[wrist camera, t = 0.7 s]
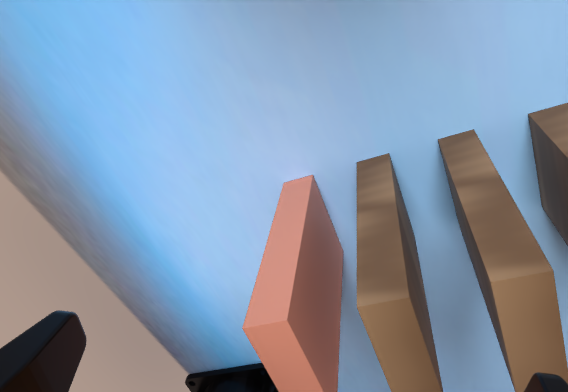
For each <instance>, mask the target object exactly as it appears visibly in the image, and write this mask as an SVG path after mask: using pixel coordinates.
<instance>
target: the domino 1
mask: <svg viewBox="0 0 568 392" xmlns="http://www.w3.org/2000/svg"><path fill="white" fill-rule="evenodd" d="M342 271H343V249H342V247H341V244H340V242H339V239H338V237H337V234H336V232H335V229H334V226H333V224H332V221H331V219H330V216H329V214H328V211H327V209H326V206H325V204H324V201H323V199H322V196H321V194H320V191H319V189H318V186H317V184H316V181H315V179H314V176H313V175H310V176H307V177H303V178H300V179H296V180H293V181H289V182H285V183H284V184H283V187H282V191H281V194H280V198H279V201H278V205H277V209H276V212H275V216H274V219H273V223H272V226H271V230H270V233H269V237H268V240H267V244H266V247H265V251H264V254H263V258H262V261H261V265H260V268H259V272H258V275H257V279H256V282H255V286H254V289H253V293H252V296H251V300H250V303H249V307H248V310H247V314H246V318H245V321H244V325H243V328H242V329H243V330H244V332H245V334H246V336H247V337H248V339H249V341H250V343H251V344H252V346H253V348H254V349H255V351H256V353H257V355H258V356H259V358H260V360H261V362H262V363H263V365H264V367H265V369H266V370H267V372H268V374H269V375H270V377H271V379H272V381H273V382H274V384H275V386H276V388H277V389H278V391H279V392H337V387H338V364H339V341H340V317H341V294H342Z"/></svg>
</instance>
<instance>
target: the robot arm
mask: <svg viewBox="0 0 568 392" xmlns="http://www.w3.org/2000/svg"><path fill="white" fill-rule="evenodd" d="M85 347H86V335H85V332H84V330H83V327H82V325H81V322H80V320H79V317H78V316H77V314H76V313H74V312H68V311H55V312H53V313H51V314H49V315H48V316H46V317H45V318H44V319H42V320H41V321H39V322H38V323H36V324H35V325H34V326H32V327H31V328H29V329H28V330H26V331H25V332H24V333H22V334H21V335H19V336H18V337H16V338H15V339H13V340H12V341H11V342H9V343H8V344H6V345H5V346H3V347H2V348H1V349H0V392H68V391H69V388H70V386H71V384H72V381H73V378H74V376H75V373H76V370H77V367H78V365H79V363H80V360H81V358H82V355H83V352H84V350H85ZM185 383H186V385H187V387H188V388H189V389H190V391H191V392H279V391H278V389H277V388H276V386H275V384H274V382H273V381H272V379H271V377H270V375H269V374H268V372H267V370H266V369H265V367H264V365H263V363H258V364H252V365H245V366H239V367H233V368H226V369H220V370H214V371H208V372H201V373H195V374H190V375H188V376H187V378H186V381H185ZM524 392H568V384H567V382H566V381H565V380H564V379H563V378H562V377H560V376H558V375H556V374H549V373H541V372H537V373H535V374H533V376H532V377H531V379H530V381H529V383H528V385H527V387H526V388H525V390H524Z"/></svg>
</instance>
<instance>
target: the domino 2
mask: <svg viewBox="0 0 568 392" xmlns="http://www.w3.org/2000/svg"><path fill="white" fill-rule="evenodd" d="M357 309H358V311H359V314H360V316H361V318H362V321H363V323H364V326H365V328H366V331H367V333H368V336H369V338H370V340H371V343H372V345H373V348H374V350H375V353H376V355H377V357H378V360H379V362H380V365H381V367H382V370H383V372H384V375H385V377H386V379H387V382H388V384H389V387H390V389H391V392H443V388H442V383H441V378H440V372H439V367H438V361H437V356H436V351H435V345H434V340H433V334H432V329H431V323H430V318H429V313H428V307H427V302H426V296H425V291H424V286H423V280H422V275H421V269H420V264H419V259H418V253H417V248H416V242H415V237H414V233H413V230H412V226H411V223H410V220H409V217H408V213H407V210H406V207H405V204H404V200H403V197H402V194H401V191H400V187H399V184H398V181H397V178H396V174H395V171H394V168H393V165H392V161H391V158H390V155H389V153H388V154H385V155H381V156H378V157H374V158H371V159H367V160H363V161H360V162H357Z"/></svg>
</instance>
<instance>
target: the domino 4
mask: <svg viewBox="0 0 568 392" xmlns="http://www.w3.org/2000/svg"><path fill="white" fill-rule="evenodd" d="M528 117H529V123H530V130H531V137H532V143H533V150H534V157H535V163H536V170H537V177H538V183H539V190H540V197H541V203H542V207H543V209H544V210H545V212H546V213H547V215H548V216H549V218H550V220H551V221H552V223H553V224H554V226H555V227H556V229H557V230H558V232H559V233H560V235H561V236H562V238H563V239H564V241H565V242H566V244H567V245H568V103H565V104H562V105H558V106H555V107H551V108H548V109H544V110H540V111H537V112H533V113H530V114H528Z"/></svg>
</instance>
